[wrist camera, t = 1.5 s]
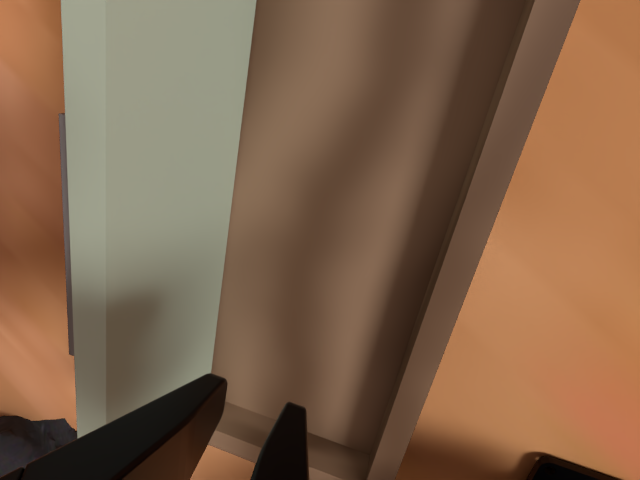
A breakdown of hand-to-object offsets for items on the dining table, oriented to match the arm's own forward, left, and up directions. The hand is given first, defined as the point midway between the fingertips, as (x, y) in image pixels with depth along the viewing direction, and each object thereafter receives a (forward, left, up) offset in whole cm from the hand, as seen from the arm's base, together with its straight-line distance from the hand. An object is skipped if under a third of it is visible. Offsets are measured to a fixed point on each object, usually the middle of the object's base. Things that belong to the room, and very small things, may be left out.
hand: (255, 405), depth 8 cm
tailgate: (+7, 0, -11) cm, 13 cm away
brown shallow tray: (+1, 0, -12) cm, 12 cm away
